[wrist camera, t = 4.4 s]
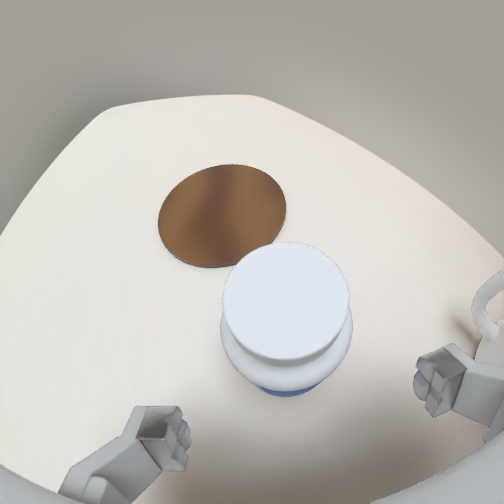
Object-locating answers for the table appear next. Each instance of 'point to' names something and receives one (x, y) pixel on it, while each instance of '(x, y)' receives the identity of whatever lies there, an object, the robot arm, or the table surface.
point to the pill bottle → (286, 318)
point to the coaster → (221, 215)
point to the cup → (489, 323)
